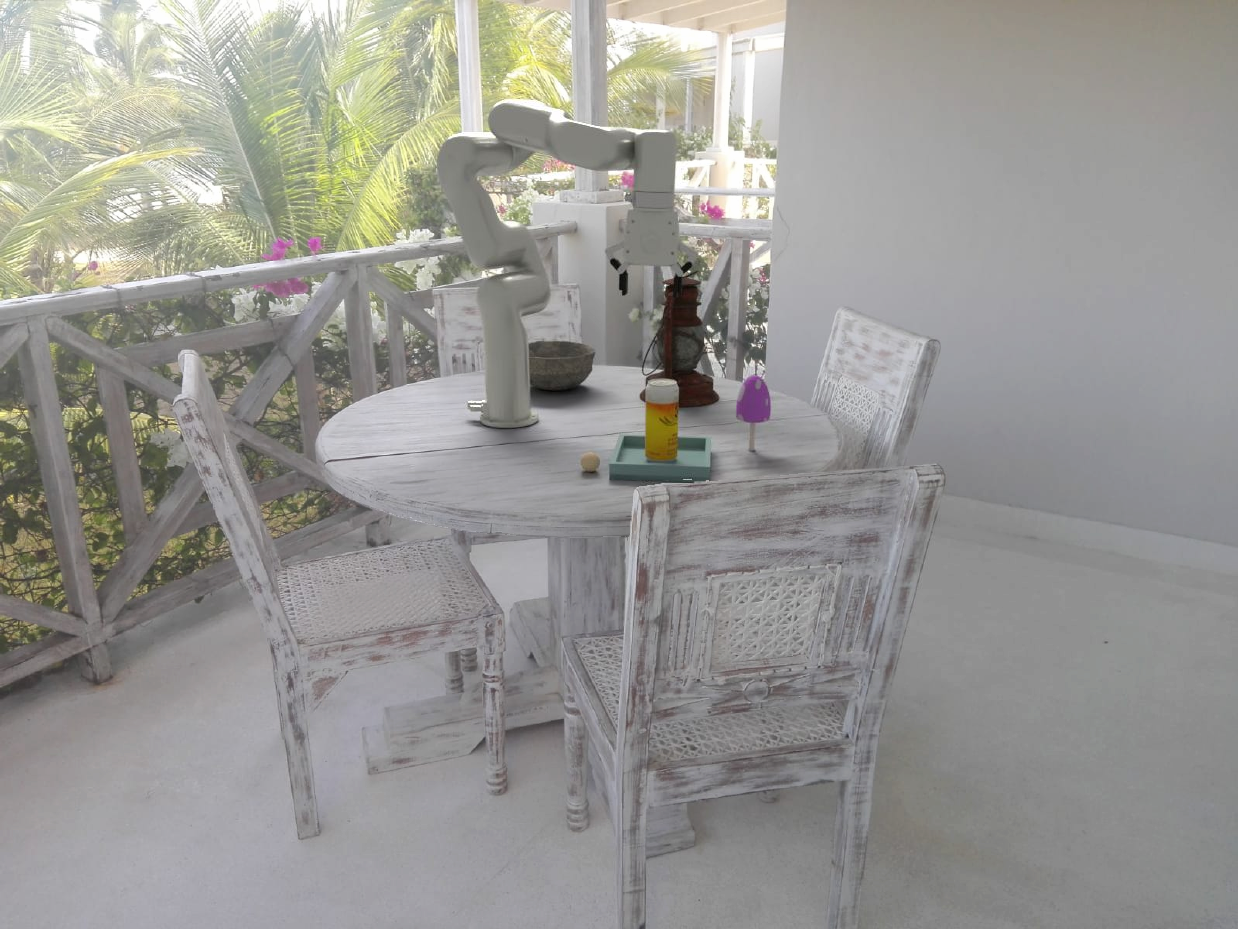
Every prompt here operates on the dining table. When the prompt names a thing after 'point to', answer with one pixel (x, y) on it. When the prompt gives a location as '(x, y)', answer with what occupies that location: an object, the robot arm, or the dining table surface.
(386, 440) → the dining table surface
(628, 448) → the tray
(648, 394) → the beer can
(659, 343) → the lantern
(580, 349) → the bowl
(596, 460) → the cork ball
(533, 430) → the dining table surface
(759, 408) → the toy
